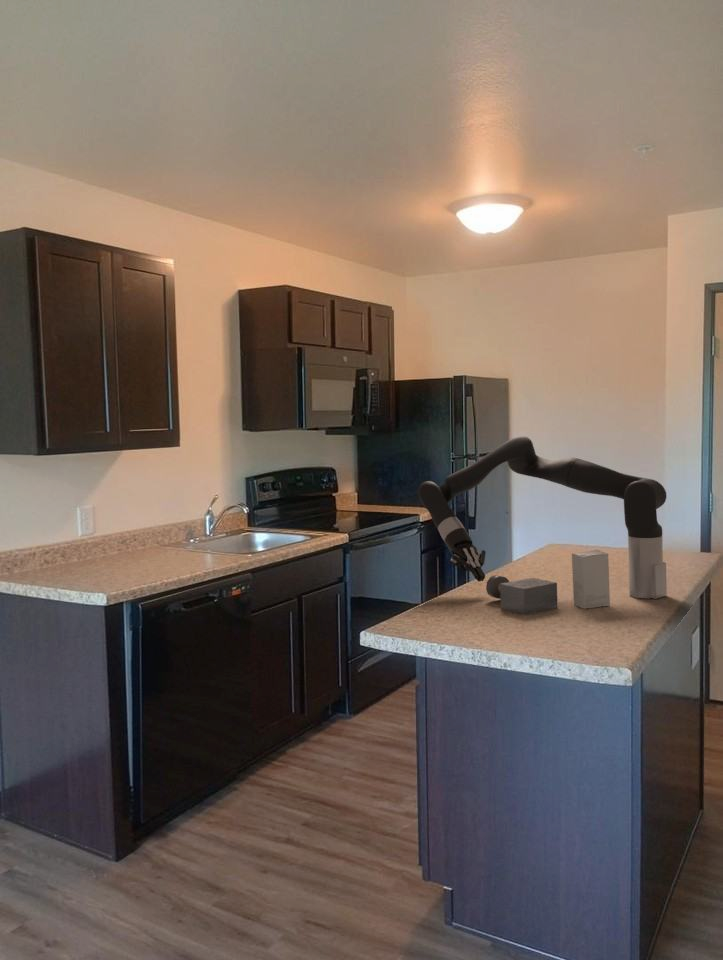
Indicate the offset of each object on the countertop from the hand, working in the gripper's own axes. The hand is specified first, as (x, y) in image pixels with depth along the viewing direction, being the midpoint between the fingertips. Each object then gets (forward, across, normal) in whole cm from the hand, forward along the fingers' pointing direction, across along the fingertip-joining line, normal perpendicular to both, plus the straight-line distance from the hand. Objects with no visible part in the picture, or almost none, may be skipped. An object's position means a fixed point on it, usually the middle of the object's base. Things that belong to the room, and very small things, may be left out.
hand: (481, 579), depth 231 cm
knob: (+11, 0, +5) cm, 12 cm away
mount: (+18, 0, +10) cm, 20 cm away
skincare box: (+24, -15, +16) cm, 33 cm away
